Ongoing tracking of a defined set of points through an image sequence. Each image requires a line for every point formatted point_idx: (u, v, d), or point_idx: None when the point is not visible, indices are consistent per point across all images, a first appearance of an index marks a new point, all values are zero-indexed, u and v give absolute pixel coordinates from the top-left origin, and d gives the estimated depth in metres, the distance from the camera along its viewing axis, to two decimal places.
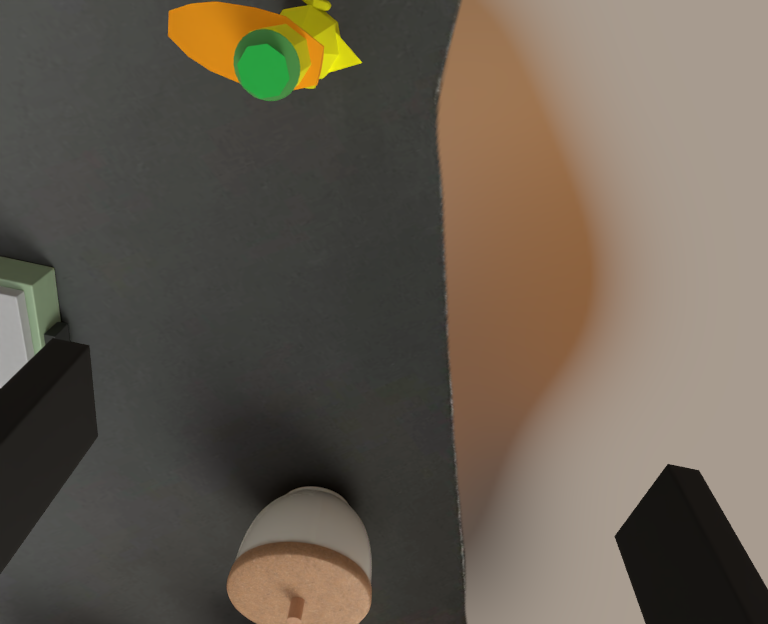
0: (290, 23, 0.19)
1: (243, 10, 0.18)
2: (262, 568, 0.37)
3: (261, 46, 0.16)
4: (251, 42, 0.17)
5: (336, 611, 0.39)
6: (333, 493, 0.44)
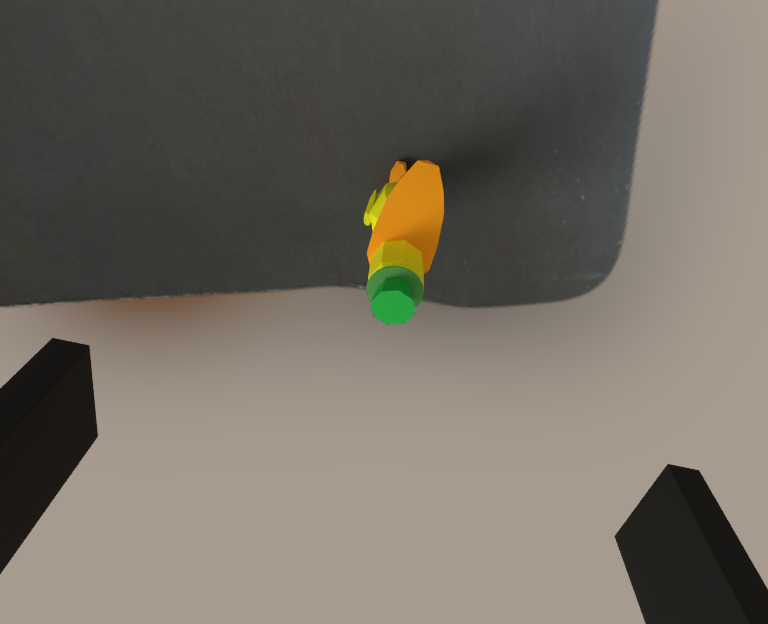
0: (423, 272, 0.22)
1: (435, 236, 0.21)
2: None
3: (412, 310, 0.19)
4: (414, 283, 0.19)
5: None
6: None
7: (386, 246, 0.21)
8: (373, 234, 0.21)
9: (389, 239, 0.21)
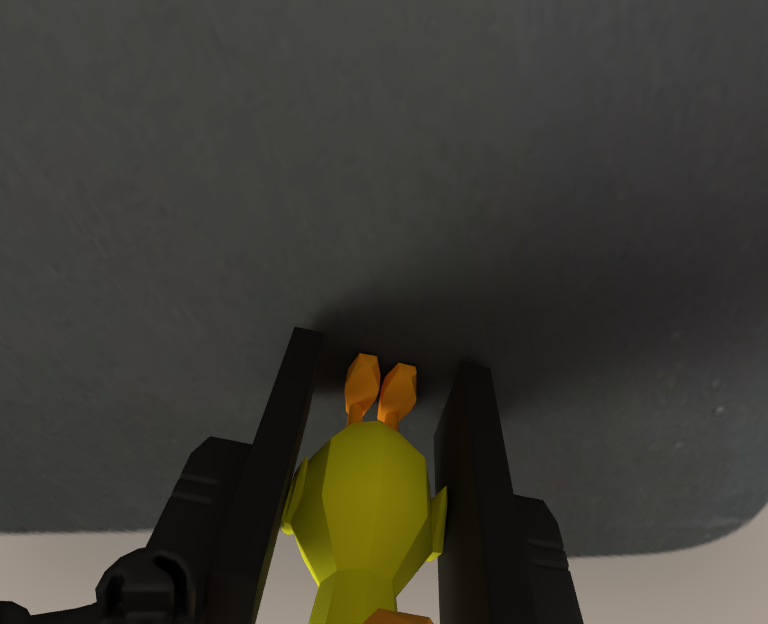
0: None
1: None
2: None
3: None
4: None
5: None
6: None
7: None
8: None
9: None
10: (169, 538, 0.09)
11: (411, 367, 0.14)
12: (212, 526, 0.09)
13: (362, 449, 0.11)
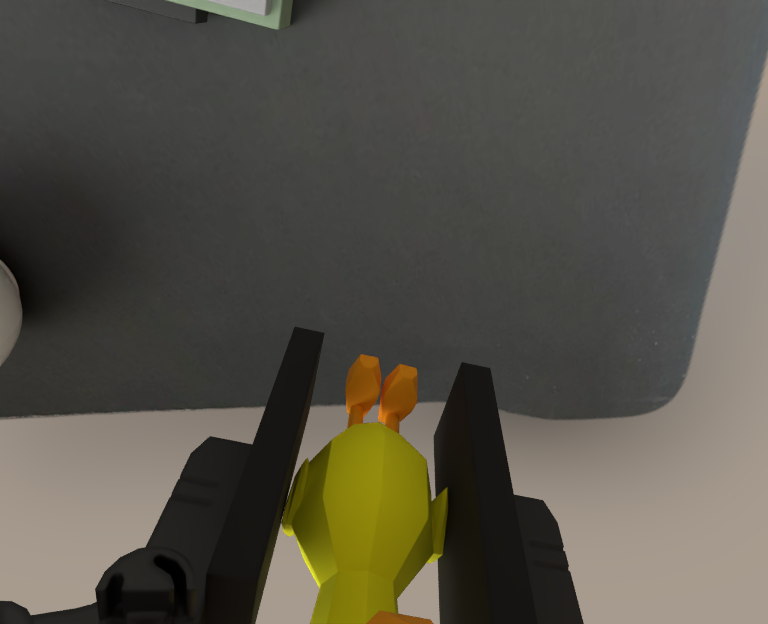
0: None
1: None
2: None
3: None
4: None
5: None
6: None
7: None
8: None
9: None
10: (169, 538, 0.09)
11: (412, 368, 0.14)
12: (212, 526, 0.09)
13: (363, 451, 0.11)
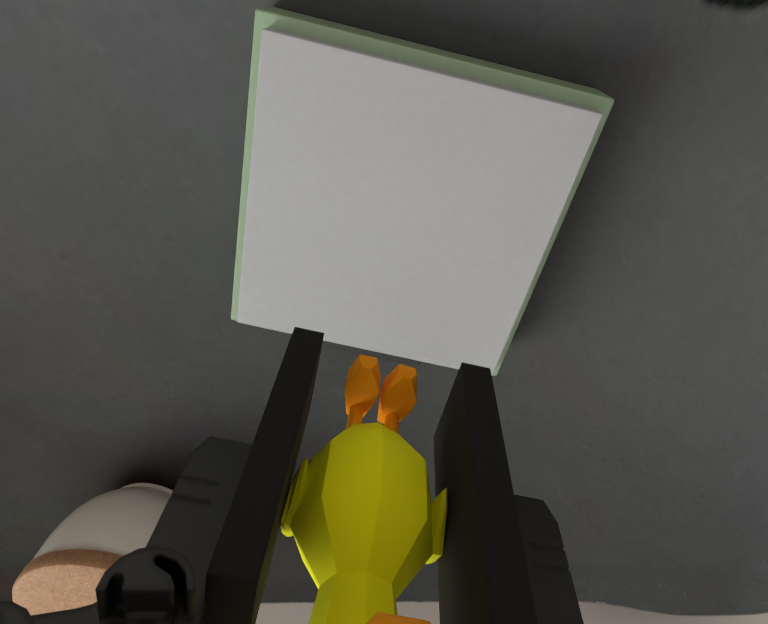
0: None
1: None
2: None
3: None
4: None
5: None
6: None
7: None
8: None
9: None
10: (169, 538, 0.09)
11: (411, 369, 0.14)
12: (212, 526, 0.09)
13: (362, 451, 0.11)
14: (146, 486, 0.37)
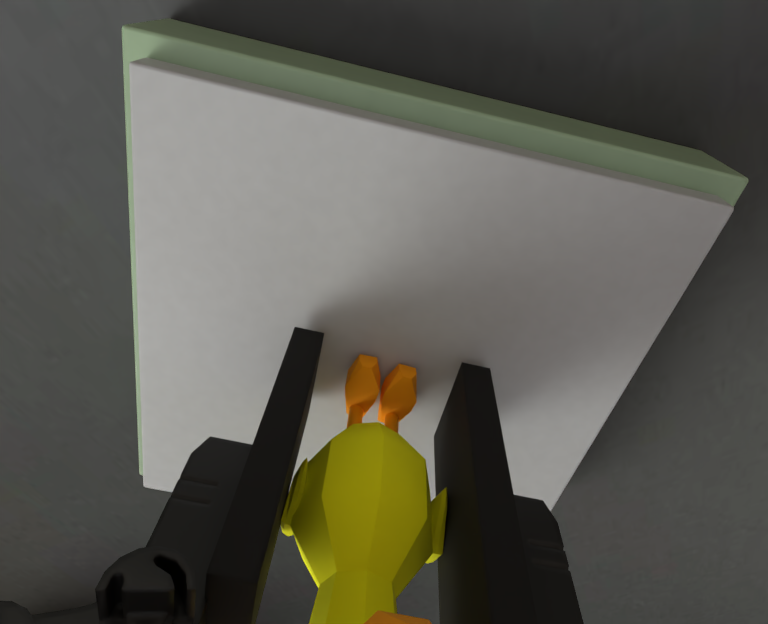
0: None
1: None
2: None
3: None
4: None
5: None
6: None
7: None
8: None
9: None
10: (169, 538, 0.09)
11: (411, 368, 0.14)
12: (211, 526, 0.09)
13: (362, 450, 0.11)
14: None
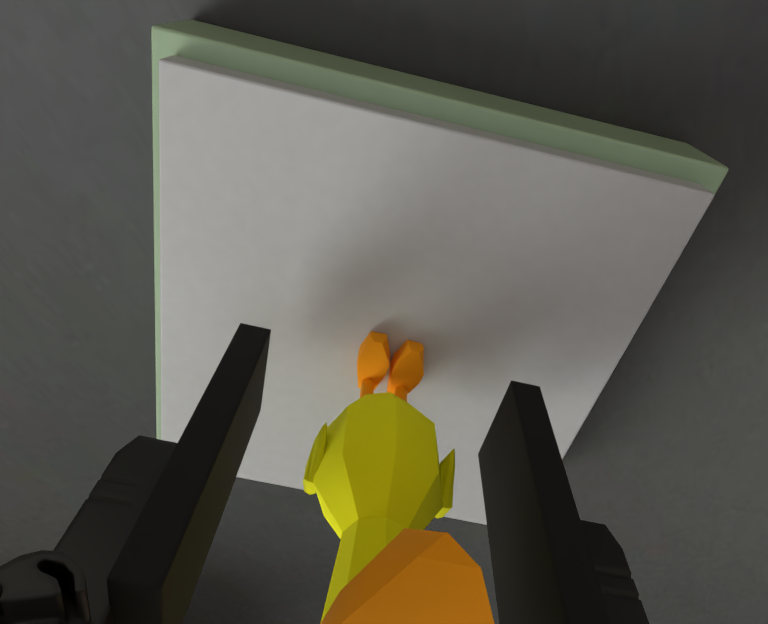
0: None
1: None
2: None
3: None
4: None
5: None
6: None
7: None
8: None
9: None
10: (80, 542, 0.08)
11: (418, 343, 0.15)
12: (127, 529, 0.09)
13: (377, 414, 0.12)
14: None
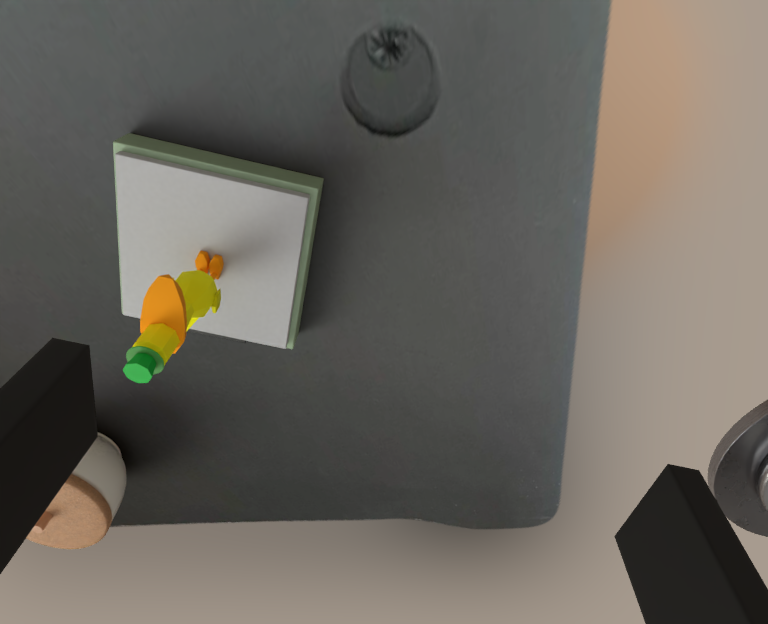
0: (181, 343, 0.32)
1: (181, 321, 0.31)
2: (79, 500, 0.47)
3: (149, 374, 0.29)
4: (154, 356, 0.30)
5: (44, 533, 0.50)
6: None
7: (147, 329, 0.31)
8: (141, 320, 0.31)
9: (152, 323, 0.31)
10: None
11: (219, 255, 0.38)
12: None
13: (190, 273, 0.36)
14: None
